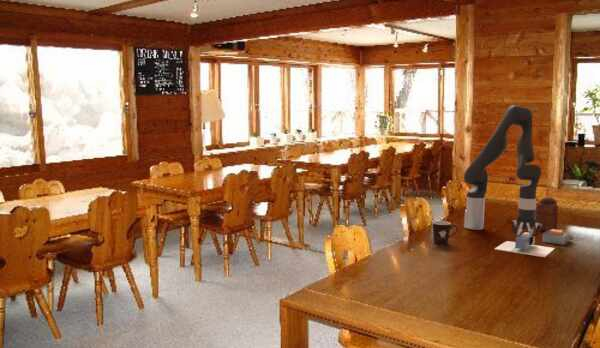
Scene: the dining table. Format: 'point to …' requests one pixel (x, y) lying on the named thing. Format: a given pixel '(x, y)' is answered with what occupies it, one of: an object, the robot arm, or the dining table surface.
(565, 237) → the button housing
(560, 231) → the button cap
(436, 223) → the coffee mug
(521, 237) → the eraser
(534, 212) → the robot arm
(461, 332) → the dining table surface
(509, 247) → the paper sheet
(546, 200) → the wooden figurine
